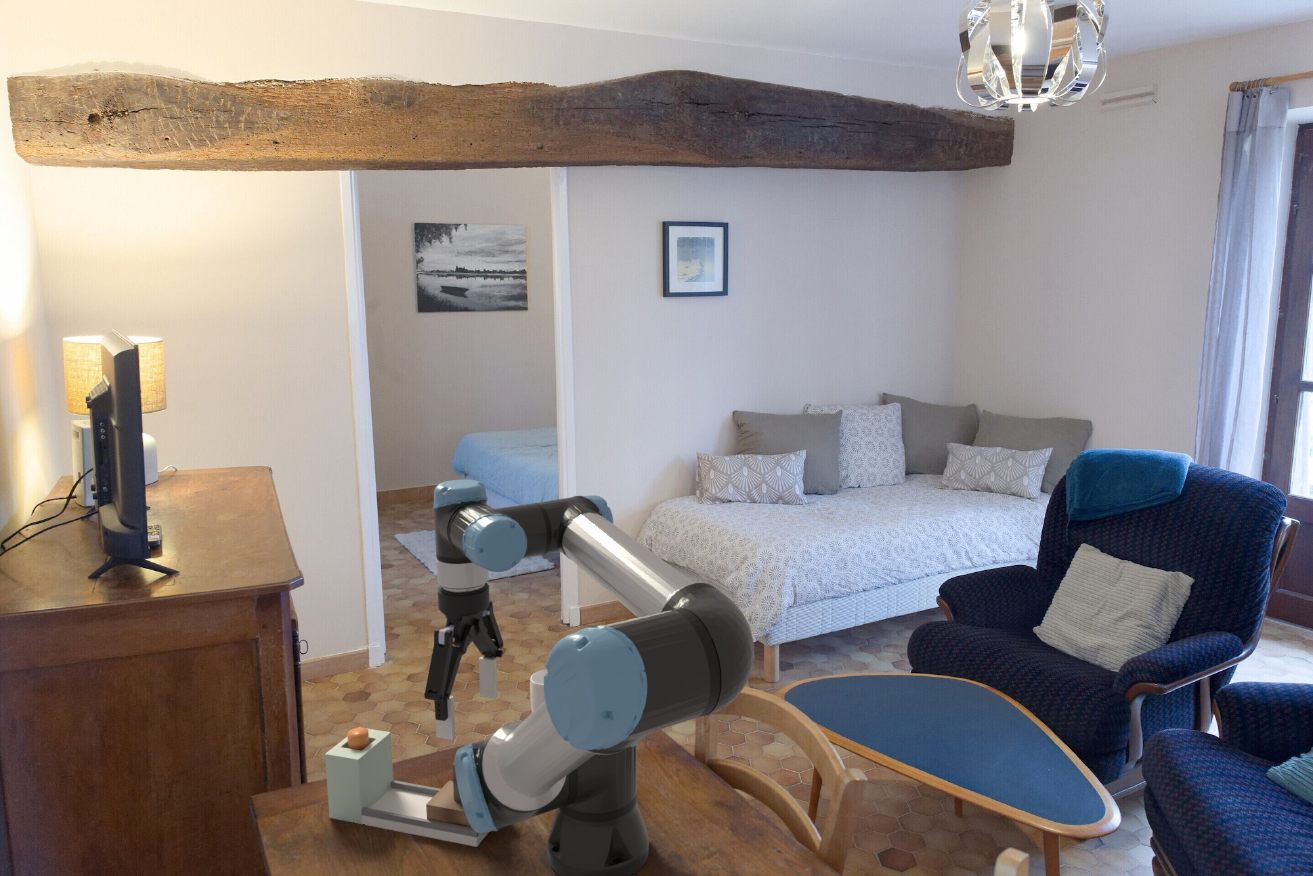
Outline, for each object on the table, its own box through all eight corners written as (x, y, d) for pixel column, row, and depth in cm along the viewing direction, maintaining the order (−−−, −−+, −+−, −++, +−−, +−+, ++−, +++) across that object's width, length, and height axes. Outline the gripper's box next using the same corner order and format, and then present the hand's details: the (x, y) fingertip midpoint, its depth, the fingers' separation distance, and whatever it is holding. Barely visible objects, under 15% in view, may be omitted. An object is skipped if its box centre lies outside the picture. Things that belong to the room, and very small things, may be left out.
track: (503, 813, 147) (503, 799, 147) (476, 846, 139) (476, 831, 138) (394, 793, 153) (393, 779, 153) (362, 824, 145) (361, 809, 144)
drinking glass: (573, 746, 168) (571, 669, 166) (565, 766, 162) (564, 686, 159) (536, 744, 169) (534, 667, 166) (527, 764, 162) (525, 684, 160)
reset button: (373, 743, 149) (372, 729, 149) (361, 752, 146) (360, 738, 146) (356, 740, 150) (355, 726, 149) (344, 749, 147) (343, 735, 146)
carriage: (506, 808, 146) (504, 755, 144) (485, 833, 139) (483, 778, 138) (449, 797, 149) (447, 746, 147) (427, 822, 142) (424, 768, 141)
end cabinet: (394, 793, 153) (390, 732, 151) (362, 824, 145) (358, 759, 143) (362, 788, 155) (359, 727, 153) (329, 817, 146) (324, 753, 144)
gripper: (479, 556, 150) (484, 678, 154) (394, 610, 126) (401, 752, 130) (522, 561, 148) (525, 684, 152) (443, 616, 124) (449, 761, 128)
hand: (468, 716), depth 141 cm, fingers open, 13 cm apart
